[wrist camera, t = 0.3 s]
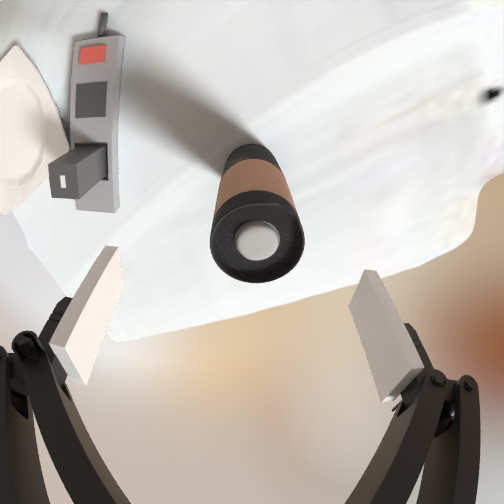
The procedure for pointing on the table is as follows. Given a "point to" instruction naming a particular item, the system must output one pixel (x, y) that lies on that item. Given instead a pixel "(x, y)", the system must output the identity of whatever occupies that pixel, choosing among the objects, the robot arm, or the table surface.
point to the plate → (26, 130)
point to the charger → (78, 171)
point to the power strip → (97, 110)
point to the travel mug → (255, 219)
